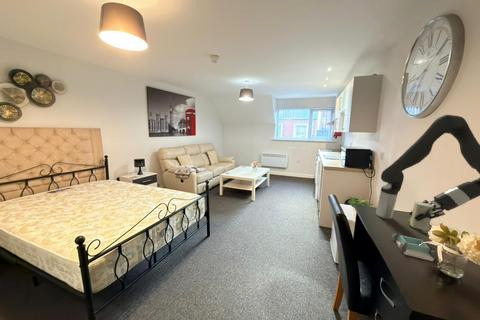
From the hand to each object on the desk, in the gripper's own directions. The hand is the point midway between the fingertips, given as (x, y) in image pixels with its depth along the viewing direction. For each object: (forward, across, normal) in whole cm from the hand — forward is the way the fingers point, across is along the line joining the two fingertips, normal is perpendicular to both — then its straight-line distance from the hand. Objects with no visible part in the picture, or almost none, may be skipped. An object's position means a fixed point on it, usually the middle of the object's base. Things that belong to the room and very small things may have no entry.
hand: (413, 216), depth 97 cm
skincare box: (+1, 0, +6) cm, 6 cm away
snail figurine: (+1, -32, +23) cm, 40 cm away
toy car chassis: (+10, 0, +14) cm, 17 cm away
